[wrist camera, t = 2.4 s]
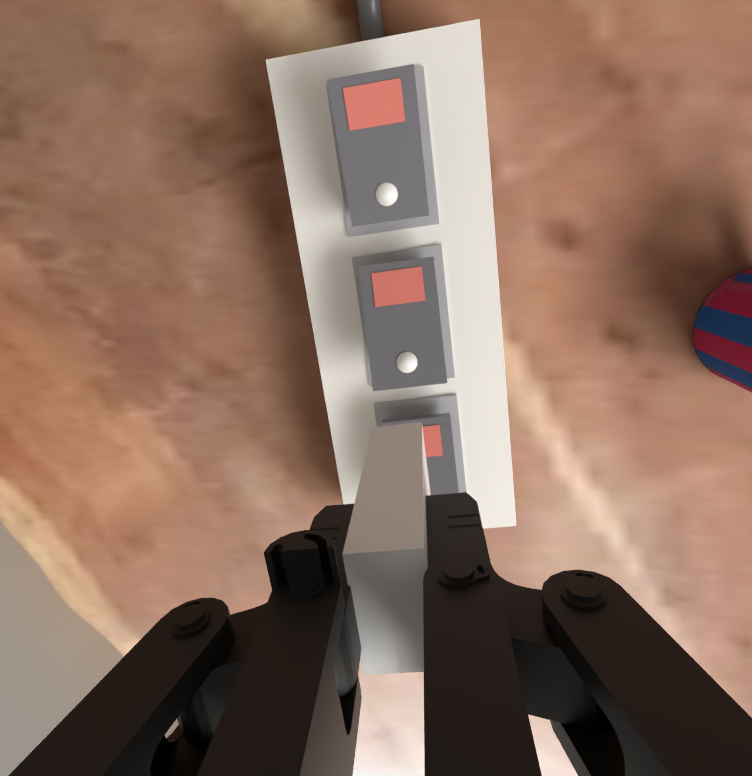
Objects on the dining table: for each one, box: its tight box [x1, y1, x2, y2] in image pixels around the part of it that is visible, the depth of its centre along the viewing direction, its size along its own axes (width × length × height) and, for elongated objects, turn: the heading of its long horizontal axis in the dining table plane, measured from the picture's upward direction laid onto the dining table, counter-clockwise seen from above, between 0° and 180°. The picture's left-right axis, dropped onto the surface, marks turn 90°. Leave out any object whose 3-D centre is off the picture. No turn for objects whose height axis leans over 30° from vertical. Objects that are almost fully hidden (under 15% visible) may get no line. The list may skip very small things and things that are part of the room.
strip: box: [266, 0, 516, 528], centre depth 28 cm, size 34×10×5 cm, turn 8°
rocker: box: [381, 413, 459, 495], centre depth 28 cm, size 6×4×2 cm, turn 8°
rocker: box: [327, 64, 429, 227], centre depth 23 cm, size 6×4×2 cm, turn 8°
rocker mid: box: [358, 256, 447, 391], centre depth 26 cm, size 6×4×2 cm, turn 8°
